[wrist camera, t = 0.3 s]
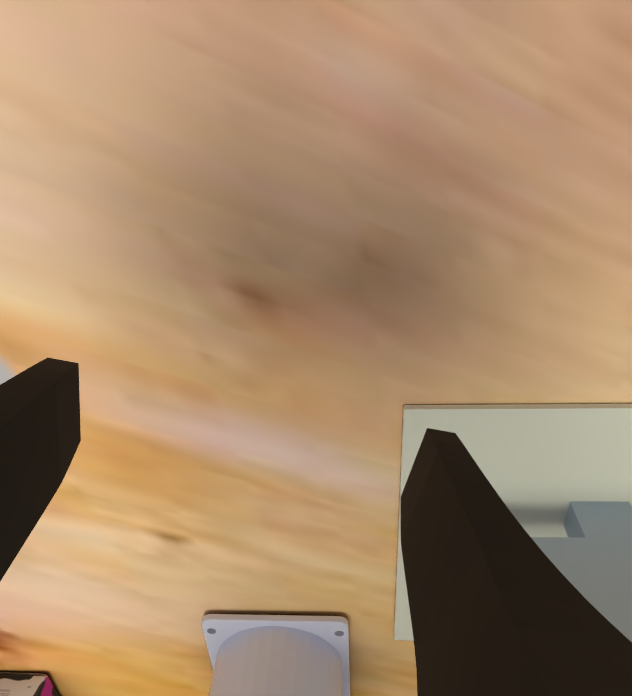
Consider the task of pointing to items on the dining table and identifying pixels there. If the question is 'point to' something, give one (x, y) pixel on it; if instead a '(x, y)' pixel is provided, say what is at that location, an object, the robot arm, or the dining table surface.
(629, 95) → the dining table surface
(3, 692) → the candy bar box
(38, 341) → the dining table surface
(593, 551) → the grey flat block
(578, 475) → the felt mat
